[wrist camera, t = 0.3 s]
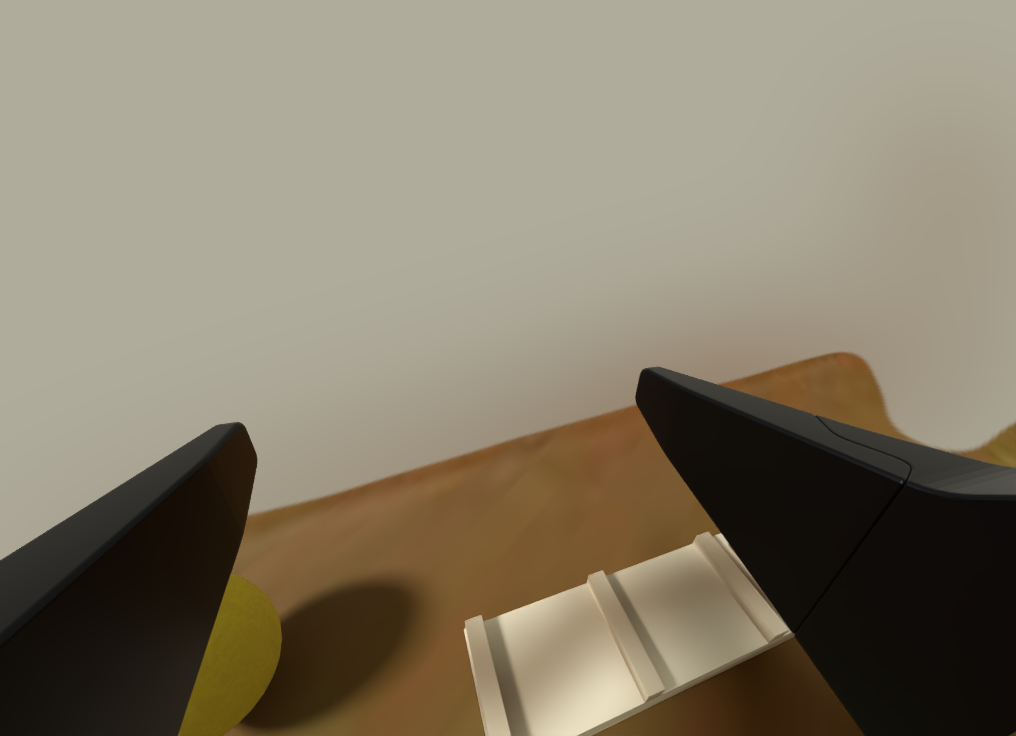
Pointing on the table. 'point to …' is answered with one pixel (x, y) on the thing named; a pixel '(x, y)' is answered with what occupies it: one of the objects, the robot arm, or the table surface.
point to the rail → (619, 642)
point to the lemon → (234, 661)
